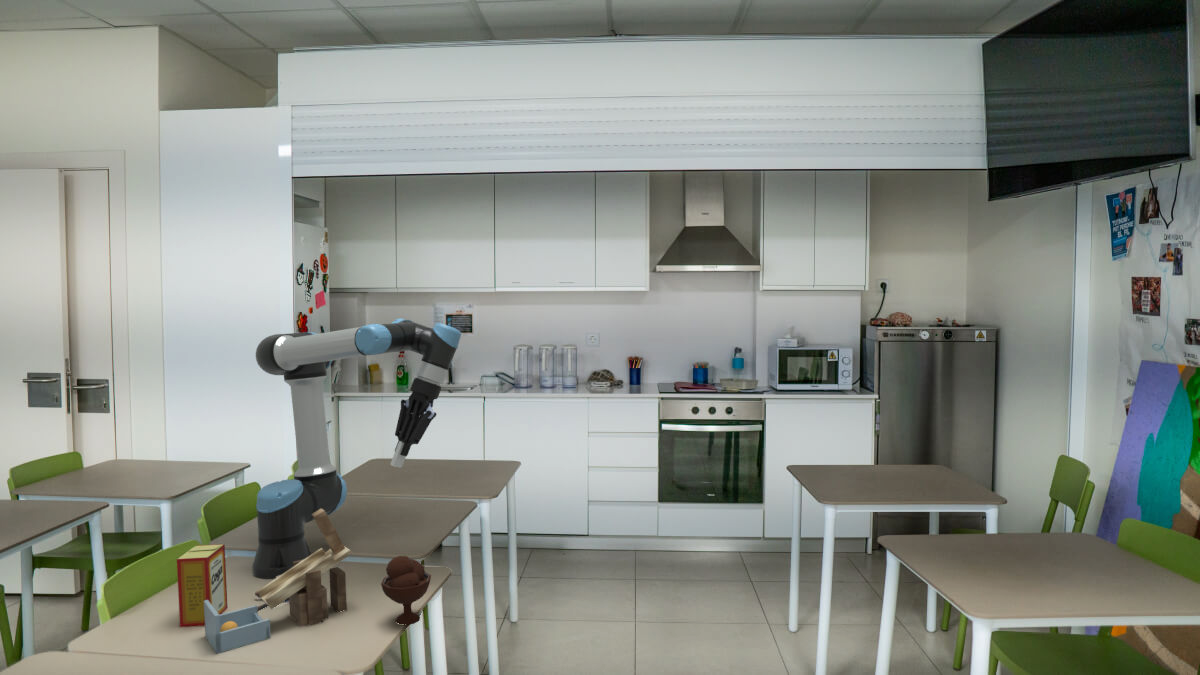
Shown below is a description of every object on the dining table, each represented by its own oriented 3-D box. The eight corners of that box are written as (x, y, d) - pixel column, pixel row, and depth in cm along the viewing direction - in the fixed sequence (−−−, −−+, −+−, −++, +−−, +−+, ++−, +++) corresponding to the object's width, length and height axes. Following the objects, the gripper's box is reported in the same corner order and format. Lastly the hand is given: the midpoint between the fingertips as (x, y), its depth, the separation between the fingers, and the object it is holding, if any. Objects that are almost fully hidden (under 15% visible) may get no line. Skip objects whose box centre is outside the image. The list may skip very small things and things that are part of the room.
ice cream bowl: (420, 632, 159) (417, 565, 158) (373, 628, 161) (371, 562, 160) (440, 611, 169) (438, 548, 168) (396, 608, 171) (394, 546, 171)
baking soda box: (210, 625, 164) (206, 556, 164) (180, 627, 164) (176, 557, 163) (227, 607, 174) (224, 542, 173) (199, 609, 173) (195, 543, 172)
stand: (335, 600, 177) (333, 552, 176) (350, 613, 169) (349, 563, 168) (288, 613, 170) (286, 563, 169) (302, 628, 162) (300, 575, 161)
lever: (340, 546, 176) (318, 505, 172) (351, 553, 170) (329, 511, 167) (262, 599, 164) (236, 557, 161) (271, 609, 159) (245, 566, 155)
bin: (257, 622, 166) (255, 587, 165) (270, 637, 157) (269, 601, 157) (205, 636, 159) (203, 600, 158) (216, 653, 151) (215, 616, 150)
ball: (221, 641, 157) (213, 629, 156) (235, 629, 160) (227, 617, 159) (230, 642, 155) (222, 630, 154) (244, 630, 158) (236, 618, 157)
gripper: (454, 390, 189) (421, 476, 187) (425, 379, 198) (393, 461, 195) (432, 383, 184) (398, 471, 181) (403, 371, 192) (370, 456, 189)
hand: (395, 466), depth 188 cm, fingers closed
